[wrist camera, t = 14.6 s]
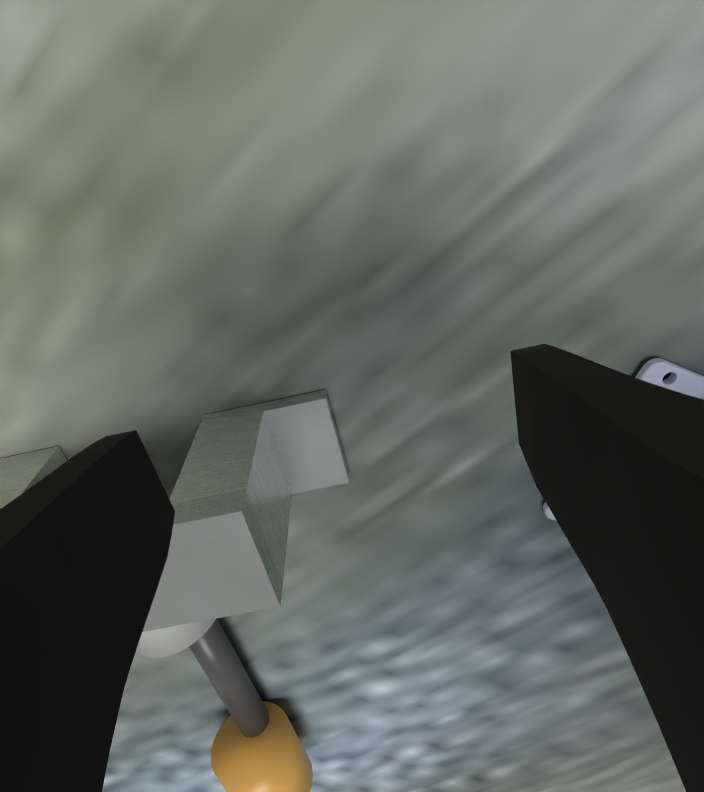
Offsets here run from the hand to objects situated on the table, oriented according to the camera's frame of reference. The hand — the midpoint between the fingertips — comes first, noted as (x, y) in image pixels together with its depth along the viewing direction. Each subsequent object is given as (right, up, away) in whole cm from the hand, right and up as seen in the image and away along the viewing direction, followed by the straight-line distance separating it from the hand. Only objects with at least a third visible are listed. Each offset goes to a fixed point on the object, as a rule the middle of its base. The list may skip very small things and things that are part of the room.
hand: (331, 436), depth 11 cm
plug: (-6, -12, +18) cm, 22 cm away
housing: (-8, -2, +12) cm, 15 cm away
